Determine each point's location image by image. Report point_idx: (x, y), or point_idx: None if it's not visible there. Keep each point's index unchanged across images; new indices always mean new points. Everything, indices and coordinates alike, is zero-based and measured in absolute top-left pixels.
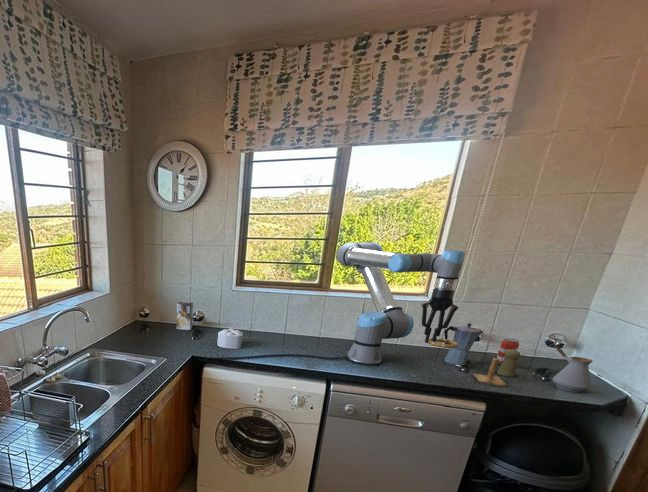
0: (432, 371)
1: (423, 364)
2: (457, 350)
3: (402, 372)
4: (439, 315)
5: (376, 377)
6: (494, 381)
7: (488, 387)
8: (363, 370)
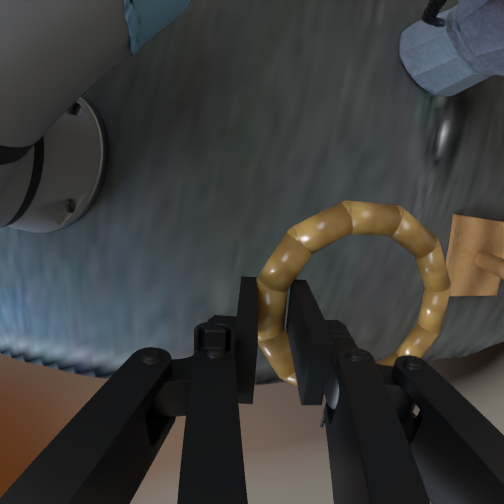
0: (319, 204)
1: (303, 103)
2: (461, 64)
3: (181, 272)
4: (366, 481)
5: (94, 359)
6: (480, 284)
7: (446, 323)
8: (52, 299)
